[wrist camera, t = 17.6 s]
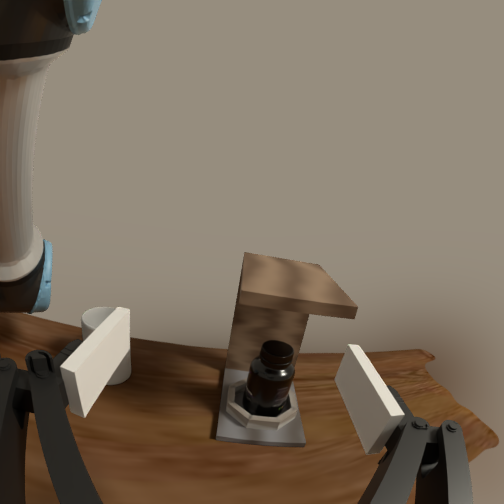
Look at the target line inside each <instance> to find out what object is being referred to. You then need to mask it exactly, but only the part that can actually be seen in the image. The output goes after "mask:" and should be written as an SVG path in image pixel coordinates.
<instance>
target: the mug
mask: <svg viewBox="0 0 504 504" xmlns="http://www.w3.org/2000/svg"><path fill="white" fill-rule="evenodd" d="M115 309H116V308H110V307H96V308H92V309H89V310H87V311H85V312H84V313H83V315H82V317H81V323H82V335H83V341H85V340H86V339H87V338H88V337H89V336H90V335H91V334H92V332H93V331H94V330H95V329H96V328H97V327H98V326H99V325H100V324H101V323H102V322H103V321H104V320H105V319H106V318H107V317H108V316H109V315H110V314H111V313H112V312H113V311H114V310H115ZM130 374H131V357H130V349H129V350H128V352H127V353H126V355H125V356H124V358H123V359H122V361H121V362H120V364H119V365H118V367H117V368H116V370H115V371H114V373H113V374H112V376H111V377H110V379H109V380H108V382H107V384H106V385H115V384H120V383H122V382H124V381H126V380H127V379H128V378H129V377H130Z"/></svg>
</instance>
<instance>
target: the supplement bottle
mask: <svg viewBox="0 0 504 504" xmlns="http://www.w3.org/2000/svg"><path fill="white" fill-rule="evenodd" d="M293 355H294V350H293V348H292V346H291V345H289V344H287V343H285V342H282V341H278V340H268V341H266V342H264V343H263V344H262V347H261V351H260V353H259V356H257V357H255V358H254V359H253V360H252V362H251V364H250V368H249V373H248V377H247V382H246V386H245V390H244V395H243V400H242V405H243V407H244V409H245V410H246V411H247V412H248V413H249V414H251V415H254V416H264V417H276V416H278V415H279V414H280V413H281V412H282V410H283V408H284V405H285V402H286V399H287V396H288V393H289V390H290V387H291V384H292V381H293V378H294V375H295V369H294V366H293V364H292V360H293Z"/></svg>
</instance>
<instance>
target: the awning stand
mask: <svg viewBox="0 0 504 504" xmlns="http://www.w3.org/2000/svg"><path fill="white" fill-rule="evenodd" d="M357 309H358V306H357V305H356V304H355V303H354V302H353V301H352V300H351V299H350V298H349V296H348V295H347V294H346V293H345V292H344V291H343V290H342V289H341V288H340V287H339V286H338V285H337V283H336V282H335V281H334V280H333V279H332V278H331V277H330V276H329V275H328V274H327V273H326V272H325V271H324V270H323V269H322V268H321V267H320V265H318V264H312V263H305V262H300V261H294V260H288V259H282V258H276V257H270V256H264V255H258V254H252V253H246V252H245V253H244V259H243V265H242V270H241V276H240V282H239V288H238V294H237V300H236V306H235V312H234V318H233V323H232V329H231V336H230V342H229V347H228V353H227V359H226V365H225V372H224V380H223V388H222V395H221V403H220V411H219V418H218V426H217V434H216V440H220V441H227V442H235V443H244V444H254V445H266V446H284V447H304V446H305V444H306V441H305V436H304V431H303V427H302V422H301V417H300V413H299V408H298V403H297V399H296V394H295V390H294V385H293V381H292V384H291V387H290V390H289V393H288V396H287V399H286V402H285V405H284V408H283V410H282V412H281V413H280V414H279V415H278V416H276V417H264V416H254V415H251V414H249V413H248V412H247V411H246V410H245V409H244V407H243V405H242V400H243V395H244V390H245V386H246V382H247V377H248V373H249V368H250V364H251V362H252V360H253V359H254V358H255V357H257V356H259V353H260V351H261V347H262V344H263V343H264V342H266V341H268V340H278V341H282V342H285V343H287V344H289V345H291V346H292V348H293V350H294V355H293V360H292V364H293V366H294V367H295V364H296V360H297V357H298V353H299V350H300V347H301V343H302V339H303V336H304V332H305V329H306V325H307V321H308V317H309V314H314V315H322V316H331V317H338V318H339V317H340V318H348V319H355V316H356V312H357Z"/></svg>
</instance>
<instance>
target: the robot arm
mask: <svg viewBox="0 0 504 504" xmlns="http://www.w3.org/2000/svg"><path fill="white" fill-rule="evenodd" d="M101 1H102V0H0V312H10V313H26V312H27V313H28V314H32V313H34V312H44V311H46V310H47V309H48V307H49V304H50V296H51V275H52V244H51V243H50V242H49V241H46V240H43V239H42V235H41V233H40V231H39V229H38V228H37V227H36V226H35V225H34V224H33V215H32V182H33V162H34V149H35V139H36V131H37V124H38V117H39V111H40V105H41V100H42V95H43V90H44V85H45V81H46V76H47V72H48V68H49V66H50V64H51V63H52V62H53V61H54V60H56V59H57V58H58V57H59V56H61V55H62V54H64V53H65V52H66V51H68V49H69V47H70V44H71V40H72V38H73V35H74V34H76V35H79V34H82V33H86V32H88V31H89V30H90V29H91V27H92V25H93V23H94V20H95V18H96V14H97V11H98V9H99V6H100V3H101ZM129 349H130V310H129V309H126V308H121V307H117V308H116V309H115V310H114V311H113V312H112V313H111V314H110V315H109V316H108V317H107V318H106V319H105V320H104V321H103V322H102V323H101V324H100V325H99V326H98V327H97V328H96V329H95V330H94V331H93V332H92V334H91V335H90V336H89V337H88V338H87V339H86V340H85V341H81V340H79V339H77V340H74V341H72V342H70V343H69V344H68V345H67V346H66V347H65V348H64V349H63V350H62V351H61V352H60V353H58V354H57V355H56V356H55V357H54V358H53V359H52V356H51V354H50V353H48V352H47V351H44V350H34V351H31V352H29V353H28V354H27V355H26V358H25V361H26V365H27V368H28V371H26V370H21V369H17V365H16V363H15V361H13V360H12V359H10V358H1V356H0V358H1V359H0V504H25V450H26V437H27V427H28V418H29V412H31V413H35V419H36V424H37V429H38V433H39V438H40V442H41V446H42V450H43V454H44V457H45V461H46V464H47V467H48V471H49V474H50V477H51V480H52V483H53V486H54V489H55V491H56V494H57V497H58V499H59V502H60V504H103V503H102V501H101V499H100V497H99V495H98V493H97V491H96V489H95V487H94V485H93V483H92V481H91V478H90V476H89V474H88V472H87V469H86V467H85V465H84V462H83V460H82V457H81V455H80V452H79V450H78V447H77V444H76V442H75V439H74V436H73V433H72V430H71V427H70V424H69V421H68V418H67V415H66V411H65V408H66V407H67V405H68V404H69V407H70V410H71V412H72V413H75V414H77V415H79V416H82V417H84V418H85V417H86V415H87V413H88V412H89V410H90V409H91V407H92V405H93V404H94V402H95V401H96V399H97V397H98V396H99V394H100V393H101V391H102V390H103V388H104V387H105V385H106V384H107V382H108V380H109V379H110V377H111V376H112V374H113V373H114V371H115V370H116V368H117V367H118V365H119V364H120V362H121V361H122V359H123V358H124V356H125V355H126V353H127V352H128V350H129ZM335 382H336V384H337V387H338V389H339V391H340V393H341V396H342V398H343V400H344V403H345V405H346V407H347V410H348V412H349V414H350V417H351V419H352V421H353V424H354V426H355V429H356V431H357V433H358V436H359V438H360V440H361V443H362V445H363V448H364V450H365V453H366V455H367V454H375V453H380V451H381V450H382V449H383V447H384V446H386V448H387V452H386V453H385V454H384V456H383V457H382V458H381V460H380V461H379V462H378V464H379V466H378V468H377V470H376V472H375V474H374V476H373V478H372V480H371V481H370V483H369V485H368V487H367V488H366V490H365V492H364V494H363V495H362V497H361V499H360V500H359V502H358V504H406V502H407V500H408V497H409V495H410V492H411V489H412V487H413V484H414V481H415V478H416V496H415V504H473V495H472V486H471V478H470V470H469V464H468V458H467V452H466V447H465V442H464V437H463V433H462V429H461V426H460V425H459V424H458V423H457V422H455V421H452V420H446V421H444V422H443V423H442V424H441V426H440V427H432V426H429V424H428V422H427V421H425V420H424V419H422V418H420V417H414V416H413V414H412V413H411V411H410V410H409V408H408V407H407V405H406V404H405V403H404V401H403V400H402V398H400V395H399V394H398V392H397V391H396V390H395V389H394V388H392V387H391V386H386V385H385V383H384V382H383V380H382V379H381V377H380V376H379V374H378V373H377V371H376V370H375V368H374V367H373V365H372V364H371V362H370V361H369V359H368V358H367V356H366V355H365V353H364V352H363V351H362V349H361V348H360V346H359V345H350V344H348V346H347V349H346V351H345V354H344V357H343V360H342V362H341V365H340V367H339V370H338V372H337V375H336V377H335ZM416 475H417V477H416Z"/></svg>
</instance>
